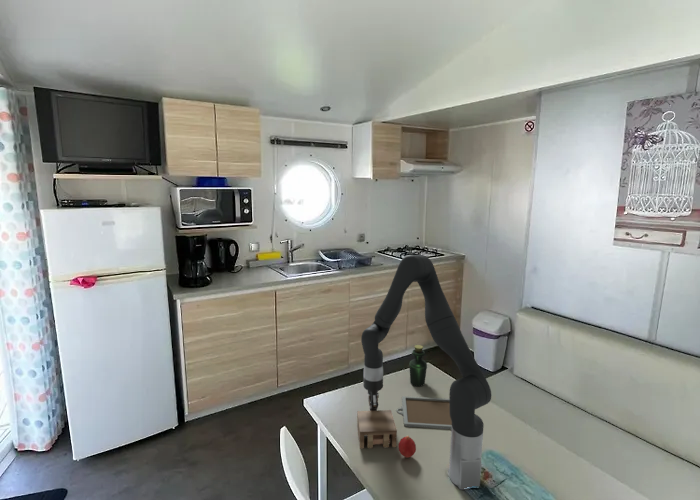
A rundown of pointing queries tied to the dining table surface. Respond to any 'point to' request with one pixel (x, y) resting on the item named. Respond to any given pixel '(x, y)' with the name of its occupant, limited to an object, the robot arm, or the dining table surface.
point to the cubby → (376, 427)
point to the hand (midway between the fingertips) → (372, 416)
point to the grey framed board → (426, 412)
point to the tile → (378, 439)
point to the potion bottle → (418, 367)
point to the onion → (407, 447)
